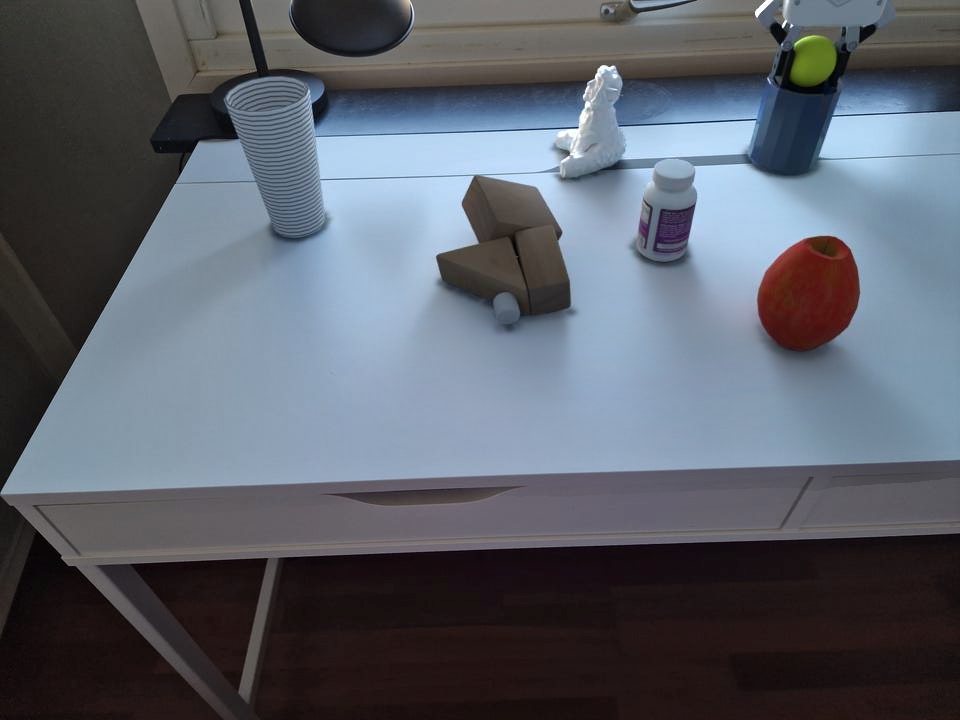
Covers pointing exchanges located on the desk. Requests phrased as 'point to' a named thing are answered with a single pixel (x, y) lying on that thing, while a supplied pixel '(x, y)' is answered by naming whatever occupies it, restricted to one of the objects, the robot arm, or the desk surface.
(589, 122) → the white creature statuette
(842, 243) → the apple
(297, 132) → the cup
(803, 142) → the tube
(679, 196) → the pill bottle
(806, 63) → the ball
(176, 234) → the desk surface
